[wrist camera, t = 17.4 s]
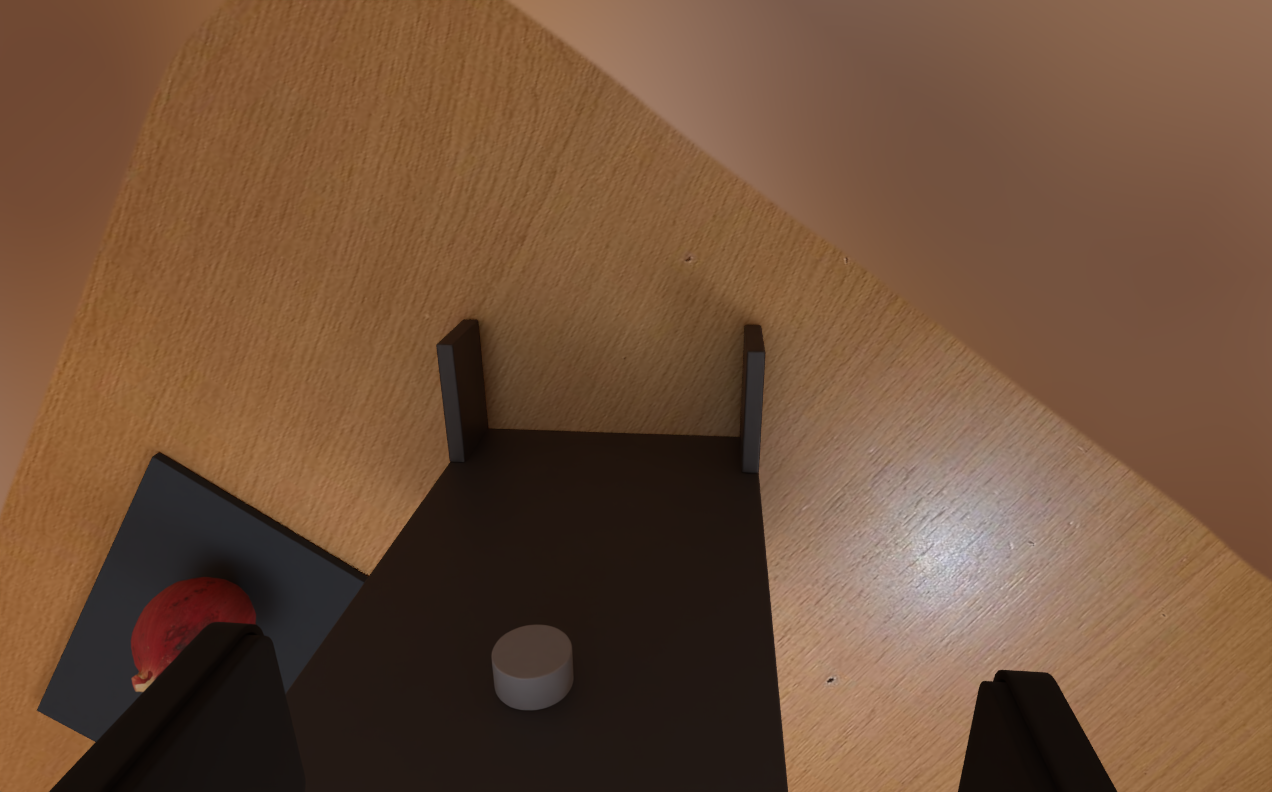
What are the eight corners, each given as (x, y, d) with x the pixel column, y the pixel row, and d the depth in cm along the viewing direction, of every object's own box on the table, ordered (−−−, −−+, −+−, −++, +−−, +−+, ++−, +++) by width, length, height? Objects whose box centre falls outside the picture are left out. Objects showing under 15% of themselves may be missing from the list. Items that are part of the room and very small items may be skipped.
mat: (159, 451, 43) (151, 456, 43) (374, 580, 45) (369, 586, 45) (43, 704, 52) (36, 710, 52) (227, 802, 54) (222, 809, 54)
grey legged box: (461, 318, 38) (72, 674, 15) (763, 324, 37) (831, 727, 14) (483, 541, 43) (215, 1061, 20) (751, 554, 42) (786, 1130, 19)
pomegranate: (231, 532, 44) (134, 622, 37) (301, 602, 46) (221, 702, 38) (169, 578, 46) (64, 672, 39) (239, 643, 48) (150, 747, 40)
